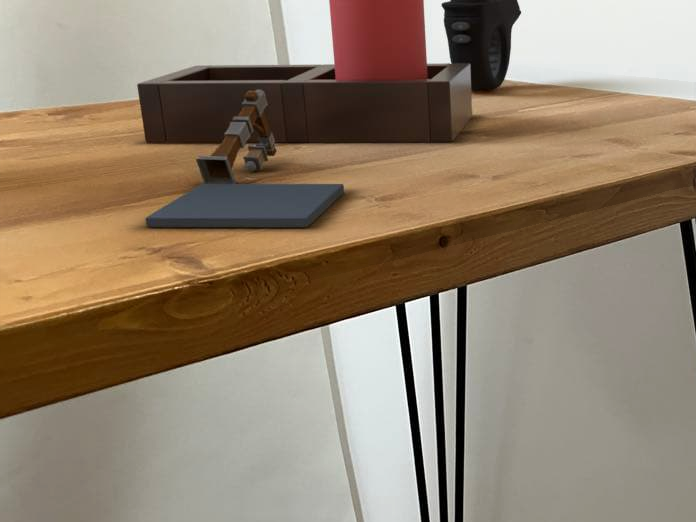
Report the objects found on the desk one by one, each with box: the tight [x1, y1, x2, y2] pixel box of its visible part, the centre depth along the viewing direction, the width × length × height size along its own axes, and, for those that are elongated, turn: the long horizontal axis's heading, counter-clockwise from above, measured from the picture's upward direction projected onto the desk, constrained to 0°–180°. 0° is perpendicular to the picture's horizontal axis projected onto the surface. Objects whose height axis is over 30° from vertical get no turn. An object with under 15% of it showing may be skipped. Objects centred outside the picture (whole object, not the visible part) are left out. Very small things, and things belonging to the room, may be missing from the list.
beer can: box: [328, 0, 428, 80], centre depth 79 cm, size 7×7×12 cm
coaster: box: [145, 183, 345, 229], centre depth 58 cm, size 8×8×1 cm
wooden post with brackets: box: [195, 90, 278, 184], centre depth 66 cm, size 2×8×4 cm, turn 169°
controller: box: [440, 0, 522, 93], centre depth 99 cm, size 4×12×10 cm, turn 165°
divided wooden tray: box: [136, 62, 473, 144], centre depth 81 cm, size 22×12×4 cm, turn 86°
